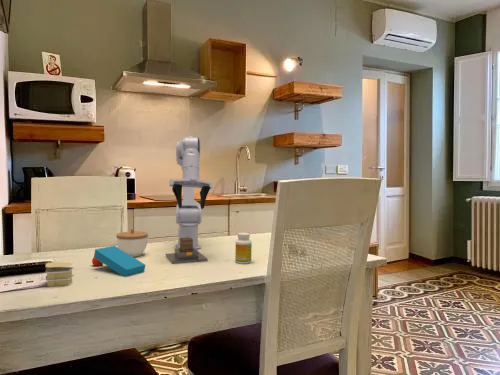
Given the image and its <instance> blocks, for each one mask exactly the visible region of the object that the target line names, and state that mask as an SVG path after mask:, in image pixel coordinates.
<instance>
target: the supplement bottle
mask: <svg viewBox="0 0 500 375" xmlns="http://www.w3.org/2000/svg"><path fill="white" fill-rule="evenodd" d="M250 236H251V234H250V233H248V232H237V238H238V239H236V241H235V258H234V259H235V263H237V264H243V265H246V264H251V263H252V246H253V243H252V240H251V239H250V238H251V237H250Z"/></svg>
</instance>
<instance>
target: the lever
mask: <svg viewBox="0 0 500 375" xmlns="http://www.w3.org/2000/svg"><path fill="white" fill-rule="evenodd" d="M91 263H92V265H93V266H94V267H100V266H101V267H102V266H103V264H104V265H105V266H106V267H108V268H109V269H111V270H112V271H114V272H115V273H117V274H118V275H121V277H125V278H126V277H129V276H133V275H136V274H140V273H143V271H144V272H145V269H146V264H145V263H143V262H142V261H140V260H139V259H137V258H136V257H132V256H130V255H129V254H127V253H126V252H124V251H122V250H121V249H119V248H118V246H117V245H111V246H107V247H106V246H105V247H101V248H95V249H94V254H93V258H92V261H91Z"/></svg>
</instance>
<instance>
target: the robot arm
mask: <svg viewBox="0 0 500 375" xmlns="http://www.w3.org/2000/svg"><path fill="white" fill-rule="evenodd" d="M175 153H176V154H175V156H176V164H177V165H179V166H180V167H181V170H182V178H179V179H178V178H177V179H174V178H172V179H171V178H170V179H169V182H168V183H169V187H171V188H172V189H171V191H172V192H173V194H174V196H175V200H176V202H177V204H176V207H175V208H176V209H175V224H177V225H178V227H179V228H178V229H177V232H178V233H177V237H178V238H177V241H178V242H177V243H176V244H175V246H176V247H177V248H180V238H188V237H190V238H192V239H193V247H194V248H195V249H196V250H198V249H199V250H200V249H201V248H202V247H201V246H199V239H198V238H199V236H198V235H199V225H200V224H201V223H202V216H203V214H202V213H203V212H202V210H203V209H204V208H205V204H206V200H207V197H208V194H209V192H210V190H212V189H213V182H211V181H205V180H202V179H200V161H201V160H200V158H201V138H200V137H193V136H192V135H187V136H185V137H184V138H182V139H181V140H179V141H177V142H176V145H175ZM194 188H197V189H198V188H199V189H200V191H199V197H200V203H199V202H198V201H197V200H195V193H194V190H195V189H194Z"/></svg>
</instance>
